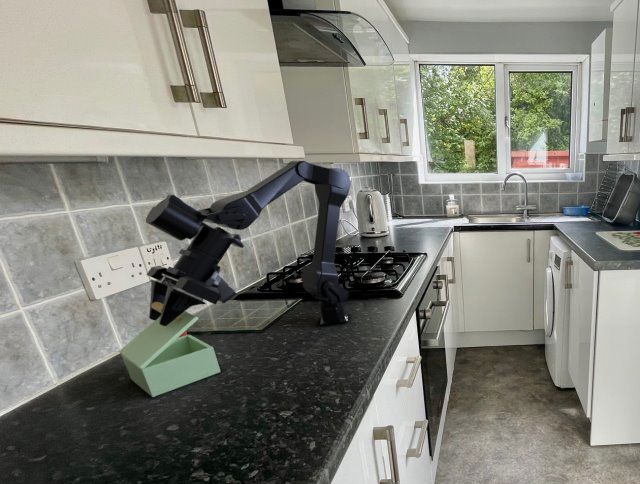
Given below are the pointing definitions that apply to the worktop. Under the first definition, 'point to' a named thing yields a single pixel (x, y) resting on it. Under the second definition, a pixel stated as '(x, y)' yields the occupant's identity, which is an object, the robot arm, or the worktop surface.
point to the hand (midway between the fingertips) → (157, 322)
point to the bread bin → (175, 366)
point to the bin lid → (156, 338)
